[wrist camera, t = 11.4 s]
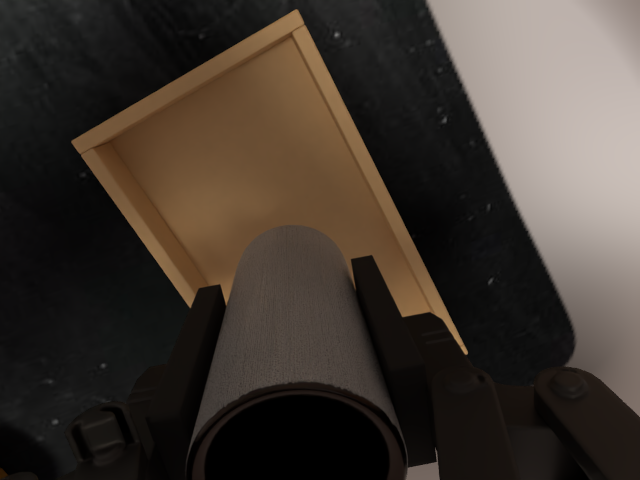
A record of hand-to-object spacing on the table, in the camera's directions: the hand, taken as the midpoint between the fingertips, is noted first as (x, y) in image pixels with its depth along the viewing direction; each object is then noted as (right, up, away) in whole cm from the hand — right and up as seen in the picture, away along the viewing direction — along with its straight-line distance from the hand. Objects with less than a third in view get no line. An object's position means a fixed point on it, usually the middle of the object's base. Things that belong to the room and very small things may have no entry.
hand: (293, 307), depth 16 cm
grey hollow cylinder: (0, +1, +3) cm, 3 cm away
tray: (-1, +2, +7) cm, 7 cm away
